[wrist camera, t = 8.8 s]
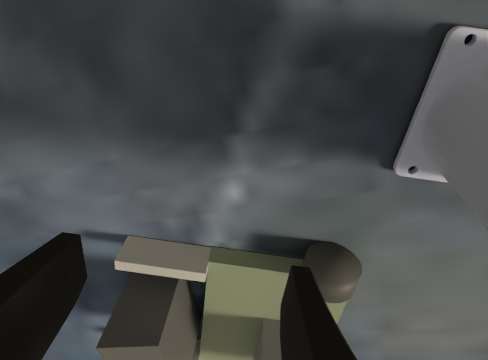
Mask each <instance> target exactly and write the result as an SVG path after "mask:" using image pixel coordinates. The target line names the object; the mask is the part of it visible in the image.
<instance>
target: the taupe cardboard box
mask: <svg viewBox="0 0 488 360" xmlns="http://www.w3.org/2000/svg"><path fill="white" fill-rule="evenodd" d="M200 321H201V316H200V313H199V310H198V307H197V304H196V302H195V299H194V296H193V293H192V290H191V287H190V285H189V282H188V280H185V279H178V278H171V277H164V276H157V275H150V274H143V273H136V272H131V275H130V277H129V279H128V281H127V283H126V285H125V287H124V289H123V292H122V294H121V296H120V298H119V300H118V302H117V304H116V306H115V309H114V311H113V313H112V315H111V317H110V319H109V321H108V323H107V326H106V328H105V330H104V332H103V334H102V336H101V338H100V341H99V343H98V345H97V347H96V349H97V351H98V352H99V354H100V356H101V357H102V359H103V360H192V359H193V355H194V350H195V345H196V340H197V335H198V331H199V326H200Z"/></svg>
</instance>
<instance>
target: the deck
mask: <svg viewBox="0 0 488 360" xmlns="http://www.w3.org/2000/svg"><path fill="white" fill-rule="evenodd" d="M114 262H115V270H122V271H129V272H136V273H143V274H150V275H157V276H164V277H171V278H178V279H185V280H192V281H200V282H205V280H206V275H207V280H206V291H205V301H204V312H203V322H202V333H201V340H200V339H197V340H196V345H195V350H194V355H193V359H192V360H282V359H281V345H280V308H281V301H282V298H283V294H284V290H285V287H286V283H287V280H288V276H289V272H290V269H291V265H295V266H302V267H309V268H310V269H311V270H312V272H313V275H314V277H315V280H316V282H317V285H318V287H319V289H320V291H321V294H322V296H323V298H324V300H325V302H326V304H327V306H328V308H329V310H330V312H331V314H332V316H333V318H334V320H335V322H336V324H337V323H338V321H339V319H340V316H341V314H342V312H343V309H344V307H345V305H346V302H347V300H348V299H350V298H351V296H352V295H353V292H354V290H355V288H356V285H357V283H358V281H359V278H360V276H361V274H362V266H361V263H360V261H359V259H358V258H357V257H356V256H355V255H354V254H353V253H352V252H351V251H350V250H348V249H347V248H345V247H343V246H341V245H338V244H335V243H330V242H319V243H315V244H313V245H311V246H310V247H309V248H308V249H307V251H306V254H305V258H304V260H303V259H296V258H289V257H282V256H275V255H268V254H261V253H254V252H247V251H240V250H233V249H226V248H219V247H205V246H198V245H191V244H184V243H177V242H170V241H163V240H156V239H149V238H142V237H135V236H128V237H127V239H126V241H125V242H124V244H123V246H122V248H121V250H120V252H119V253H118V255H117V257H116V259H115V261H114Z"/></svg>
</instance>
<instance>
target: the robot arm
mask: <svg viewBox="0 0 488 360" xmlns="http://www.w3.org/2000/svg"><path fill="white" fill-rule="evenodd" d="M469 34H472V36H473V37H472V40H471V41H470V42H469V43H468V44H465V43H464V40H465V38H466V37H467V36H468V35H469ZM411 166H415V168H414V169H413V170H411V171H408V169H409V168H410V167H411ZM393 169H394V171H395V173H396V174H397V175H399V176H405V177H412V178H418V179H425V180H432V181H439V182H446V183H449V184H450V185H451V186H452V188H453V189H454V190H455V191H456V192H457V194H458V195H459V196H460V197H461V198H462V200H463V201H464V202H465V203H466V204H467V206H468V207H469V208H470V209H471V210H472V212H473V213H474V214H475V215H476V216H477V218H478V219H479V220H480V221H481V222H482V224H483V225H484V226H485V227H486V228H487V230H488V30H487V29H480V28H474V27H467V26H456V27H453V28H452V29H451V30H449V31H448V33H447V35H446V36H445V39H444V41H443V44H442V46H441V49H440V51H439V54H438V56H437V59H436V61H435V64H434V66H433V68H432V71H431V73H430V76H429V78H428V81H427V83H426V86H425V88H424V91H423V93H422V96H421V98H420V101H419V103H418V105H417V108H416V110H415V113H414V115H413V118H412V120H411V123H410V125H409V128H408V130H407V133H406V135H405V138H404V140H403V142H402V145H401V147H400V150H399V152H398V155H397V157H396V160H395V162H394V165H393ZM86 279H87V273H86V267H85V261H84V255H83V249H82V243H81V237H80V235H78V234H71V233H64V232H62V233H60V234H59V235H57V236H56V237H54V238H53V239H51V240H50V241H49V242H47V243H46V244H44V245H43V246H41V247H40V248H38V249H37V250H35V251H34V252H33V253H31V254H30V255H28V256H27V257H25V258H24V259H22V260H21V261H19V262H18V263H16V264H15V265H13V266H12V267H10V268H9V269H7V270H6V271H4V272H3V273H1V274H0V360H42V358H43V356H44V355H45V353H46V351H47V350H48V348H49V347H50V345H51V343H52V342H53V340H54V338H55V337H56V335H57V334H58V332H59V330H60V329H61V327H62V325H63V324H64V322H65V320H66V319H67V317H68V315H69V314H70V312H71V310H72V309H73V307H74V305H75V303H76V301H77V299H78V297H79V295H80V293H81V290H82V288H83V286H84V284H85V281H86ZM280 345H281V359H282V360H357V359H356V357H355V355H354V354H353V352H352V350H351V349H350V347H349V345H348V344H347V342H346V340H345V338H344V337H343V335H342V333H341V331H340V329H339V327H338V326H337V324H336V322H335V320H334V318H333V316H332V314H331V312H330V310H329V308H328V306H327V304H326V302H325V300H324V298H323V296H322V294H321V291H320V289H319V287H318V285H317V282H316V280H315V277H314V275H313V272H312V270H311V269H310V268H309V267H302V266H295V265H291V269H290V272H289V276H288V280H287V283H286V287H285V290H284V294H283V298H282V301H281V308H280Z"/></svg>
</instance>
